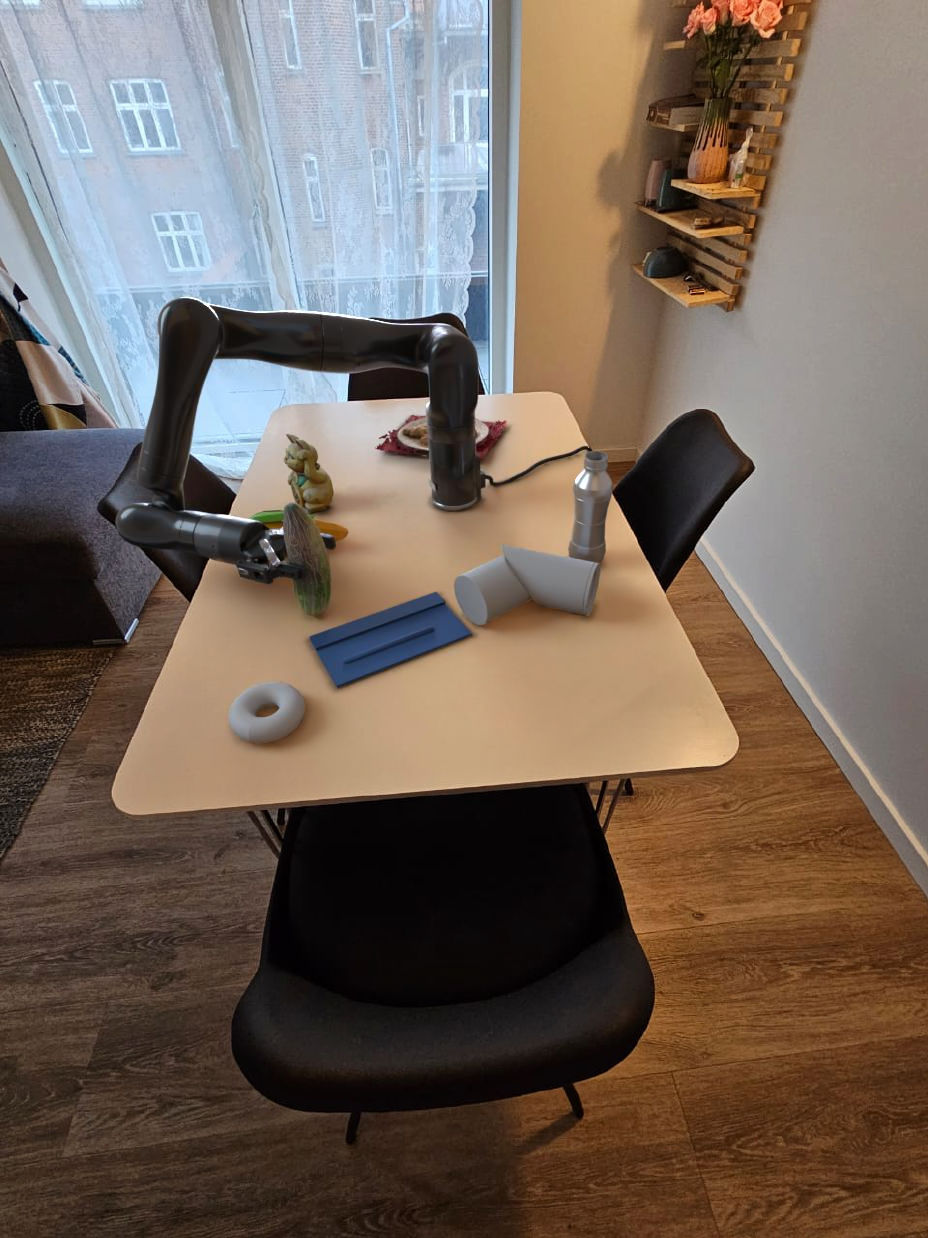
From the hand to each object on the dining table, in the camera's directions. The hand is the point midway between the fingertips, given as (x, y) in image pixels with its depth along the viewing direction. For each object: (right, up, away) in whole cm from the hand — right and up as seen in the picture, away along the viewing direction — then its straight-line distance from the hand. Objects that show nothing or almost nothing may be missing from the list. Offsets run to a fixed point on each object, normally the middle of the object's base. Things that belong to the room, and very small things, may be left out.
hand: (320, 557), depth 98 cm
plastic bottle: (+43, +1, +16) cm, 46 cm away
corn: (-9, +4, +23) cm, 25 cm away
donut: (-4, -23, -10) cm, 26 cm away
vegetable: (-2, -8, +8) cm, 11 cm away
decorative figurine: (-9, +14, +36) cm, 39 cm away
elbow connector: (+33, -8, +7) cm, 35 cm away
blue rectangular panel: (+11, -12, +2) cm, 16 cm away
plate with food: (+17, +34, +58) cm, 70 cm away
